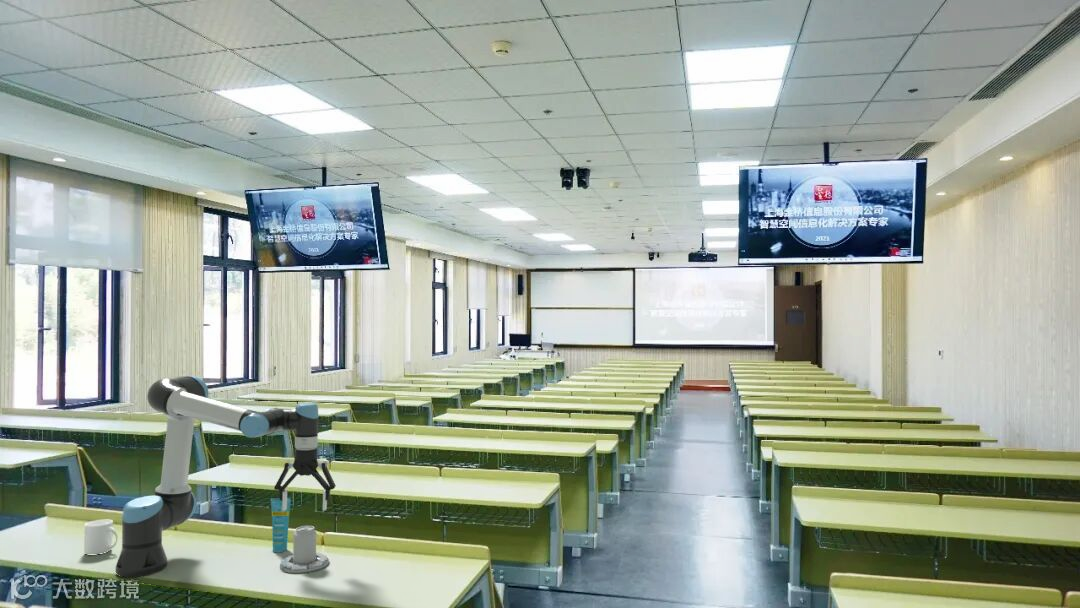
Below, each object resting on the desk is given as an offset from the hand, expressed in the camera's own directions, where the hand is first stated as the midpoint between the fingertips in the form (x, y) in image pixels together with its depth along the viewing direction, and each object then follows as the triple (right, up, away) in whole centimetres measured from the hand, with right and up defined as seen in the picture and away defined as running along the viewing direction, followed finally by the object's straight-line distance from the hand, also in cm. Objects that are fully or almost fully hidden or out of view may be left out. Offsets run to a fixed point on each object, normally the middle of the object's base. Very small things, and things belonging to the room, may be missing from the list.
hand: (304, 509), depth 233 cm
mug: (-78, -20, +12) cm, 81 cm away
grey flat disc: (0, -19, -1) cm, 19 cm away
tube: (-14, -20, +14) cm, 28 cm away
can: (0, -18, -1) cm, 18 cm away
